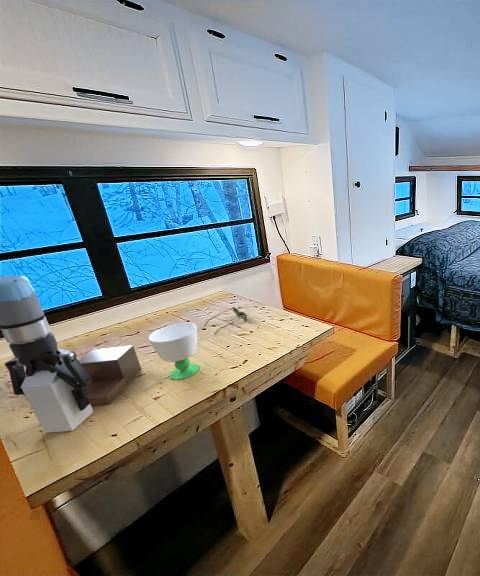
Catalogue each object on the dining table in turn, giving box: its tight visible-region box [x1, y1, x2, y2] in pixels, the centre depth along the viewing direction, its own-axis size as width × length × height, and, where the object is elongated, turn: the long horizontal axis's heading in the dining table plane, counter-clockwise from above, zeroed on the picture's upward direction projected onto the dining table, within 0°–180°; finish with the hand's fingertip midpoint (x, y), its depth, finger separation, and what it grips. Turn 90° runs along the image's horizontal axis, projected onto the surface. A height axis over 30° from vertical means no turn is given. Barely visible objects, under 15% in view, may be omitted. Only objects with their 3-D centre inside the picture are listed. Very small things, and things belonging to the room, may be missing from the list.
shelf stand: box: [78, 344, 142, 408], centre depth 97 cm, size 12×18×10 cm, turn 11°
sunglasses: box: [204, 306, 248, 335], centre depth 140 cm, size 14×15×5 cm
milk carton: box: [20, 364, 94, 434], centre depth 82 cm, size 7×7×19 cm
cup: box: [148, 322, 201, 381], centre depth 104 cm, size 14×14×16 cm
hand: (65, 409), depth 84 cm, fingers open, 9 cm apart
